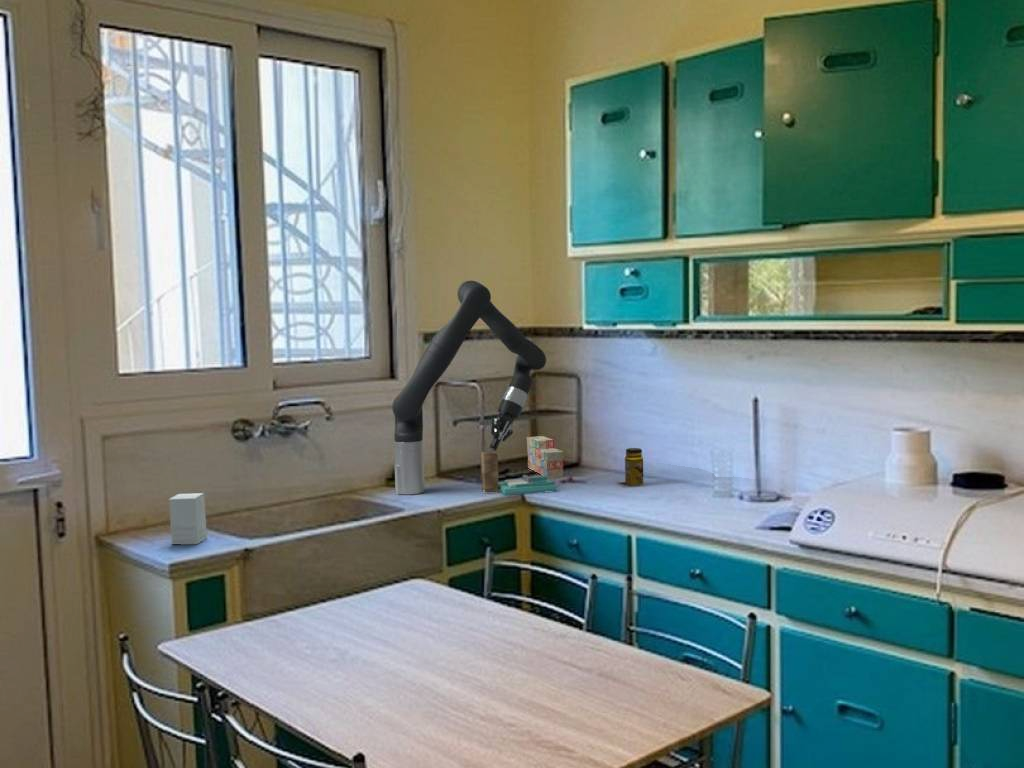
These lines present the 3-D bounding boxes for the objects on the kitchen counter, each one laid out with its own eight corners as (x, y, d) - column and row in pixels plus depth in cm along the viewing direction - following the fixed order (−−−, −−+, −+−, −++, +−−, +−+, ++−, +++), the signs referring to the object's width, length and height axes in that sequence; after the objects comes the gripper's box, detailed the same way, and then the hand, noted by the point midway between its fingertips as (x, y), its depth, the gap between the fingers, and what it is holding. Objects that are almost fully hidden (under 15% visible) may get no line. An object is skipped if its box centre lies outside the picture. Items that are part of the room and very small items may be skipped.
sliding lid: (510, 487, 326) (510, 479, 326) (504, 482, 334) (504, 475, 334) (532, 485, 328) (532, 478, 328) (526, 481, 336) (526, 474, 335)
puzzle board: (505, 495, 324) (504, 486, 323) (496, 488, 335) (496, 479, 335) (555, 491, 328) (555, 482, 328) (545, 485, 339) (545, 476, 339)
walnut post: (485, 493, 328) (483, 453, 327) (482, 490, 332) (480, 451, 331) (498, 492, 329) (497, 452, 328) (495, 489, 333) (494, 451, 332)
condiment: (647, 486, 333) (646, 450, 332) (622, 487, 332) (621, 451, 331) (641, 482, 340) (640, 446, 339) (616, 483, 339) (616, 448, 338)
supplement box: (207, 538, 276) (205, 492, 275) (197, 544, 269) (195, 498, 268) (181, 538, 277) (178, 493, 276) (170, 545, 269) (167, 498, 268)
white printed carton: (563, 477, 353) (563, 442, 352) (547, 479, 351) (546, 444, 350) (543, 468, 373) (542, 435, 372) (527, 469, 372) (526, 436, 370)
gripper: (514, 398, 331) (493, 446, 328) (529, 412, 343) (509, 459, 339) (495, 393, 335) (474, 440, 331) (510, 406, 346) (490, 452, 343)
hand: (492, 449), depth 335 cm, fingers closed
